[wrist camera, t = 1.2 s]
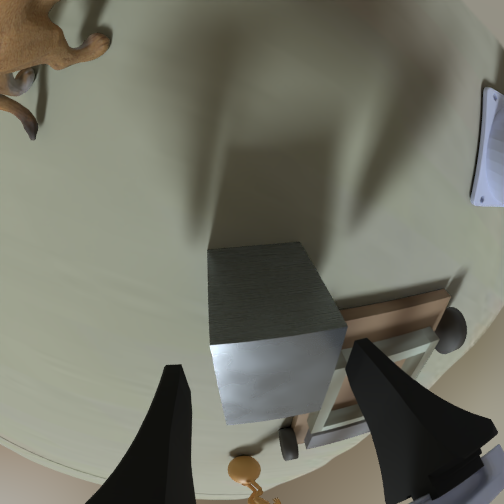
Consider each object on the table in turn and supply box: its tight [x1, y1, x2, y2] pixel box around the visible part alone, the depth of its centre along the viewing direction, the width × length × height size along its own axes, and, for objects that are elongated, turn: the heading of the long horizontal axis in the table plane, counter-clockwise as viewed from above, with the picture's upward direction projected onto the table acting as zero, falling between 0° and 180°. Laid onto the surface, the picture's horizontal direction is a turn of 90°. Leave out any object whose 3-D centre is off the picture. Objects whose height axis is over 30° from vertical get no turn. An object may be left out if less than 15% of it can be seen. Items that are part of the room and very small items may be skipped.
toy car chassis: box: [279, 289, 467, 461], centre depth 21 cm, size 13×20×4 cm
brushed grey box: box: [207, 242, 348, 425], centre depth 13 cm, size 4×6×6 cm
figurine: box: [228, 456, 281, 504], centre depth 24 cm, size 8×6×12 cm
